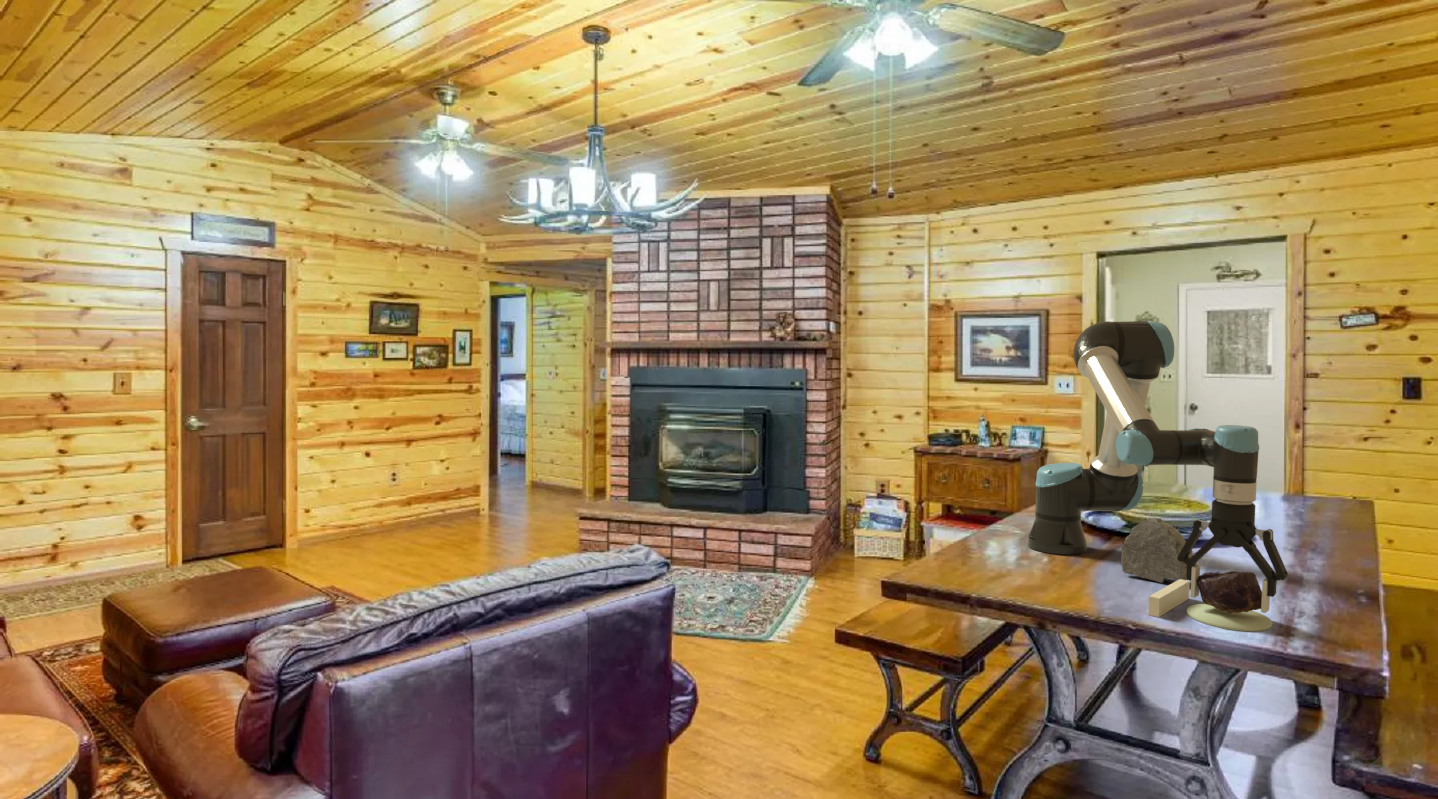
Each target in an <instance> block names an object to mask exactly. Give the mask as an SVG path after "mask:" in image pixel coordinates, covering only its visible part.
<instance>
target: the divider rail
mask: <svg viewBox="0 0 1438 799" xmlns="http://www.w3.org/2000/svg"><path fill="white" fill-rule="evenodd" d="M1190 585H1191V581H1190V580H1182V579H1179V580H1178V579H1176V580H1175V581H1174V582H1172V583H1171V584H1168V585H1166V586H1165V587H1163V588H1161V589H1160V590H1158V591H1156V592H1154V593H1152V594H1151V595H1149V596H1148V612H1147V613H1148V616H1151V617H1156V618H1160V617H1161V616H1163V615H1164V614H1166V613H1167V612H1170V611H1172V610H1173V609H1174V608H1176V607H1178V606H1179V605H1181V604H1182V603H1184V602H1186V601H1187V600H1189V599H1190Z"/></svg>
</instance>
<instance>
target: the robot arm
mask: <svg viewBox="0 0 1438 799" xmlns="http://www.w3.org/2000/svg"><path fill="white" fill-rule="evenodd" d="M1174 357H1175V343H1174V338H1173V335H1172V333H1171V331H1170V329H1169V327H1168V326H1167V325H1165V324H1163V323H1162V322H1159V321H1149V320H1140V321H1139V320H1138V321H1111V320H1110V321H1100V322H1096V323H1093V324H1092V325H1090V326H1088V327H1086V328H1085V329H1084V330H1083V331H1082V332H1081V333H1080V334H1079V335H1078V337H1077V339H1076V340H1075V342H1074V346H1073V361H1074V364H1075V367H1076V368H1077V370H1078V371H1079V374H1081V375H1082V376H1083V377H1085V378H1088V381H1089V383H1090V385H1091V386H1092V388H1093V389H1094V391H1095V393H1096V395H1097V397H1098V398H1099V400H1100V402H1101V403H1102V406H1103V407H1104V409H1105V411H1106V416H1105V419H1104V420H1105V421H1104V424H1103V431H1102V434H1101V439H1100V440H1101V441H1100V445H1099V451H1098V455H1096V456H1095V457H1092V459H1091V460H1090V466H1089V468H1084V467H1083V466H1082V464H1080V463H1078V462H1077V463H1076V462H1058V463H1049V464H1045V465H1043V466H1040V467H1039V468H1038V469H1037V471H1036V481H1035V483H1034V484H1035V518H1034V521H1033V523H1032V525H1031V529H1030V532H1029V534H1028V537H1027V547H1028V548H1030V549H1032V550H1035V551H1039V552H1042V553H1045V554H1046V553H1048V554H1053V555H1054V554H1055V555H1080V554H1084V553H1086V552H1087V551H1088V550H1087V549H1088V541H1087V539H1086V535H1085V532H1084V530H1083V525H1082V523H1081V520H1082V519H1081V518H1082V517H1081V515H1082V512H1100V511H1101V512H1112V513H1113V512H1115V513H1116V512H1121V511H1122V512H1123V511H1126V512H1127V511H1130V510H1133V509H1135V507H1137V506H1138V505H1139V504H1140V502H1141V499H1142V497H1143V493H1144V486H1143V484H1144V479H1143V477H1142V474H1141V473H1140V471H1139V470H1138V469H1139V468H1138V466H1165V465H1167V466H1168V465H1172V466H1173V465H1174V466H1178V465H1179V466H1208V467H1211V468H1213V476H1212V478H1213V479H1212V497H1213V498H1214V499H1213V500H1212V502H1211V520H1210V521H1206V520H1204V519H1202V518H1198V519H1197V520H1194V521H1193V526H1192V531H1191V532H1190V535H1189V536H1188V538H1187V540H1186V543H1185V545H1184V547H1183V548H1182V550H1181V552H1180V553H1179V555H1178V557H1177V559H1178V561H1182V562H1184V563H1185V564H1186V565H1187V575H1186V578H1187V581H1190V598H1193V599H1195V598H1197V597H1198V596H1199V594H1200V590H1199V587H1198V585H1197V583H1196V580H1197V579H1198V577H1199V576H1200V574H1201V565H1200V564H1198V563H1197V562H1199V561H1200V560H1201V559H1202V558H1203V557H1204V556H1206V554H1208V552H1210V551H1211V550H1212V549H1213V548H1214V547H1215V546H1216V545H1217V544H1218V543H1219V544H1221V546H1232V547H1234V548H1242V549H1243V550H1244V551H1245V552H1247V553H1248V555H1249V557H1250V558H1251V559H1252V560H1253V562H1254V564H1255V565H1256V566H1257V567H1258V569H1259V570H1260V571H1261V573H1262V574H1263V575H1264V577H1265V578H1264V579H1263V580H1262V581H1261V582H1262V585H1261V586H1262V587H1261V591H1262V603H1261V609H1260V612H1261V613H1262V614H1264V613H1265V614H1267V612H1269V611H1270V605H1271V604H1270V603H1271V598H1273V597H1275V596H1276V595H1277V586H1278V585H1277V584H1278V583H1277V582H1278V581H1284V580H1286V579H1287V578H1289V573H1288V571H1287V568H1286V567H1285V564H1284V562H1283V560H1282V557H1281V554H1280V552H1279V550H1278V548H1277V545H1276V543H1275V541H1274V531H1273V529H1270V528H1268V529H1258V528H1256V525H1255V524H1256V523H1255V522H1256V504H1255V503H1254V502H1256V501H1257V478H1258V463H1259V462H1258V461H1259V452H1260V451H1259V450H1260V445H1259V431H1258V429H1256V427H1254V426H1250V425H1249V426H1247V425H1240V424H1239V425H1238V424H1237V425H1236V424H1234V425H1233V424H1232V425H1231V424H1223V425H1218V426H1217V427H1216V428H1215V431H1214V430H1210V429H1208V428H1198V427H1197V428H1195V427H1194V428H1189V429H1186V430H1178V429H1174V430H1171V429H1170V430H1169V429H1165V430H1164V429H1163V430H1162V429H1160V428H1159V427H1158V425H1157V424H1156V422H1155V421H1154V418H1152V416H1151V414H1150V412H1149V411H1148V409H1147V408H1146V404H1147V398H1148V395H1149V390H1150V385H1151V382H1153V381H1155V380H1156V379H1158V378H1159V376H1160V371H1161V368H1162V369H1164V368H1167V367H1169V366H1171V364H1172V362H1174ZM1207 528H1208V529H1209V531H1210V532H1211V534H1212V537H1211V538H1210V539H1208V541H1207V542H1205V543H1204V545H1202V546H1201V547H1200V548H1199V549H1198V550H1197V551H1196V552H1195V553H1194V554H1192V555H1193V556H1192V557H1191V558H1190V557H1188V555H1189V554H1190V552H1191V550H1192V551H1193V549H1194V547H1195V545H1196V544H1197V542H1198V540H1199V539H1200V537H1201V535H1202V533H1203V532H1204V531H1206V530H1207ZM1256 536H1257V537H1258V538H1259V540H1260V541H1262V543H1263V547H1264V549H1265V551H1266V553H1267V555H1268V558H1269V560H1270V562H1271V564H1272V566H1271V564H1270V563H1269V562H1268V561H1267V560H1266V558H1265V557H1264V556H1263V554H1262V553H1261V552H1260V550H1259V549H1258V547H1257V545H1256V544H1255V542H1254V540H1253V538H1254V537H1256ZM1195 563H1196V565H1195Z"/></svg>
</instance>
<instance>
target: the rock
mask: <svg viewBox="0 0 1438 799" xmlns="http://www.w3.org/2000/svg"><path fill="white" fill-rule="evenodd" d="M1196 583H1197V585H1198V587H1199V594H1200V598H1201V601H1202V602H1203V603H1202V604H1207V605H1211V606H1213V607H1214V608H1216V609H1217V610H1219V611H1226V612H1228V613H1241V612H1249V611H1257V610H1261V603H1262V587H1261V585H1260V583H1259V580H1258V578H1257V576H1256V573H1255V572H1252V571H1249V572H1248V571H1234V570H1231V571H1225V572H1219V571H1216V572H1212V571H1211V572H1210V571H1209V572H1207V571H1206V572H1203V573H1202V574H1201V575H1200V576H1199V577H1198V579H1197V580H1196Z"/></svg>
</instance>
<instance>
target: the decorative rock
mask: <svg viewBox="0 0 1438 799" xmlns="http://www.w3.org/2000/svg"><path fill="white" fill-rule="evenodd" d="M1186 541H1187V540H1186V539H1185V538H1184V536H1183V535H1182V533H1181V532H1180V531H1179V530H1178V529H1177V528H1175V527H1174V526H1172V525H1171V524H1169V523H1166V522H1165V521H1164V520H1162V518H1158V517H1150V518H1148V519H1147V520H1142V521H1140V523H1138V524H1137V525H1135V526H1133V527H1132V529H1131V531H1130V534H1129V535H1127V536H1125V540H1124V541H1123V545H1122V546H1121V550H1122V551H1121V557H1120V560H1121V561H1120V562H1121V563H1120V564H1121V568H1122V569H1121V571H1122V572H1123V573H1124V574H1128V575H1130V576H1131V575H1132V576H1137V577H1139V578H1142V579H1147V580H1150V581H1155V582H1157V583H1164V581H1165V580H1166V579H1170V580H1179V579H1182V580H1187V578H1186V575H1187V565H1186V564H1185V563H1184V562H1182V561H1178V559H1177V557H1178V555H1179V553H1180V552H1181V550H1182V548H1183V547H1184V545H1185V543H1186ZM1193 555H1194V554H1193V549H1192V550H1191V552H1190V554H1189V555H1188V557H1190V558H1191V557H1192V556H1193ZM1195 565H1197V563H1195ZM1187 581H1188V580H1187Z"/></svg>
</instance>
